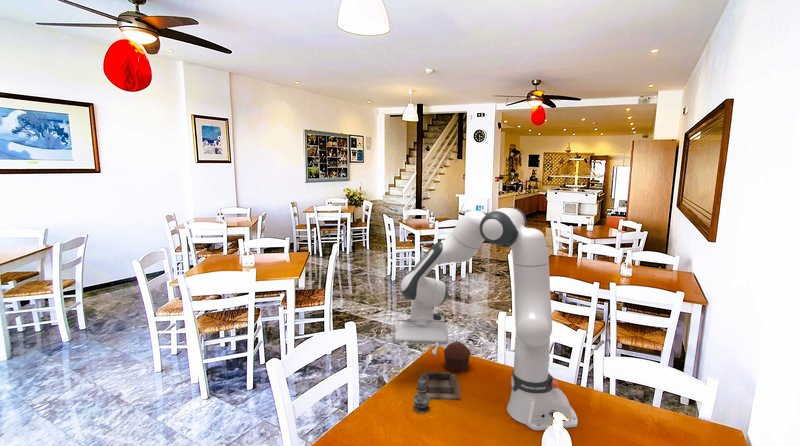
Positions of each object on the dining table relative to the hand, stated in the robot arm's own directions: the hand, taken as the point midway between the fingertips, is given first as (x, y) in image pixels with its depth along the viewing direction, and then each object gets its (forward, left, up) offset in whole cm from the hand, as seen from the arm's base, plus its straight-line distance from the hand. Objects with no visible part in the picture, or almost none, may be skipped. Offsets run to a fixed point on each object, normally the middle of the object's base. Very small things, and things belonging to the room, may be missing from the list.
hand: (421, 354), depth 144 cm
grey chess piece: (0, +10, -15) cm, 18 cm away
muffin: (-15, -19, -15) cm, 29 cm away
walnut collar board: (-7, -3, -15) cm, 17 cm away
